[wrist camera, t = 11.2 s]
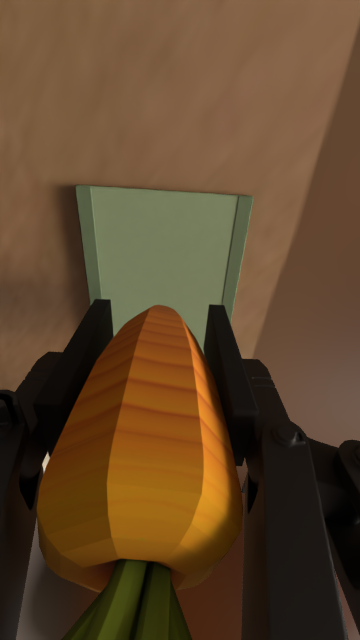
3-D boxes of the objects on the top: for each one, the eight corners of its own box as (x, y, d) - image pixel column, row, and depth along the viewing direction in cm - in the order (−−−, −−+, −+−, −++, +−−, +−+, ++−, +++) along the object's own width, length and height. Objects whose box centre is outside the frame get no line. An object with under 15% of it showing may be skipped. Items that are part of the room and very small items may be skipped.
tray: (77, 184, 14) (74, 185, 13) (252, 195, 14) (254, 196, 13) (99, 365, 20) (98, 369, 19) (220, 370, 20) (221, 374, 20)
